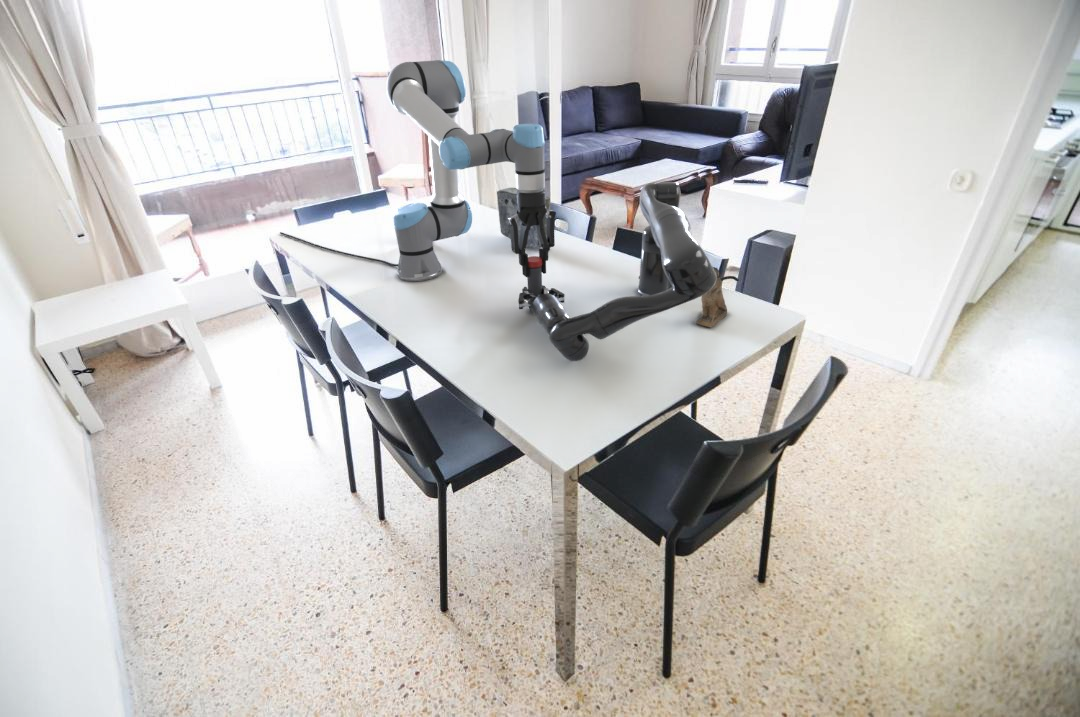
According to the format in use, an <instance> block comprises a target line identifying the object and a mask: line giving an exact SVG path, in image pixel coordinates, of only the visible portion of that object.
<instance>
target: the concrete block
mask: <svg viewBox="0 0 1080 717" xmlns="http://www.w3.org/2000/svg"><path fill="white" fill-rule="evenodd" d="M517 191H518V189H517V188H516V187H507V188H502V189H499V190H497V191H496V197H497V208H498V220H499V221H498V222H499V228H500V233H501V235H503V236H504V237H506V238H508V239H510V240H511V233H510V224H509V222H508V219H507V218H508V216H511V217H512V216H514V215H515V214H516V212H517V209H518V206H517ZM545 200H546V203H545V206H546V208H547V210H550V209H551V198H550V197H549V196H548V195H545ZM546 218H547V217H546V215H545V216H544V218H543V220H542V221H543V224H544V231H545V235H546V239H547V227H546ZM517 227H518V242H519V240H520V234H521V220H520V219H519V218H518V223H517ZM526 248H528V249H542V247H541V244H540V240H539V236H538V232H537V229H536V226H535V225H533V226H531V227H530V230H529V234H528V240H527V245H526Z"/></svg>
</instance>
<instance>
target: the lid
mask: <svg viewBox="0 0 1080 717" xmlns="http://www.w3.org/2000/svg"><path fill="white" fill-rule="evenodd" d="M542 264H543V261H542V258H541V257H539V255H538V256H537V255H533V256H528V267H530V268H536V267H540V266H542Z"/></svg>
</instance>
